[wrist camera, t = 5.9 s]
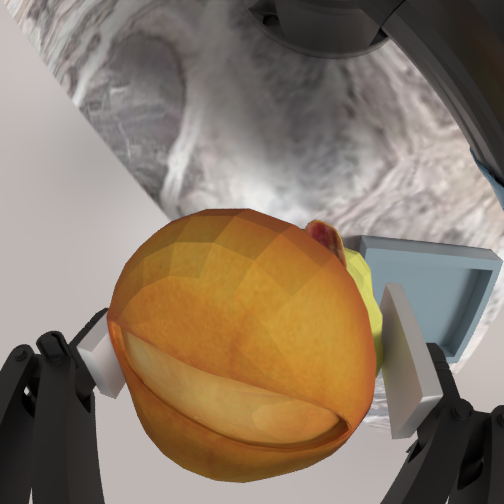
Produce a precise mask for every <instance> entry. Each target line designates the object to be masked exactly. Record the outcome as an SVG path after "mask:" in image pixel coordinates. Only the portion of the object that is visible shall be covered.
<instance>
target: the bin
mask: <svg viewBox="0 0 504 504" xmlns="http://www.w3.org/2000/svg"><path fill="white" fill-rule="evenodd" d="M359 253H360V254H361V256H362V257H363V259H364V260H365V262H366V263H367V265H368V266H369V268H370V271H371V280H372V289H373V294H374V299H375V301H376V303H377V305H378V307H379V306H380V303H381V299H382V296H383V292H384V288H385V285H386V283H400V284H401V286H402V288H403V290H404V292H405V294H406V297H407V299H408V301H409V304H410V306H411V308H412V310H413V313H414V315H415V318H416V320H417V322H418V325H419V327H420V330H421V332H422V335H423V337H424V340H425V343H436V344H437V345H438V346H439V347H440V348H441V349H442V350H443V352H444V355H445V357H446V360H447V361H446V362H448V363H457V362H458V361H459V359H460V357H461V355H462V354H463V352H464V350H465V348H466V346H467V344H468V343H469V341H470V339H471V337H472V335H473V333H474V331H475V329H476V327H477V325H478V323H479V321H480V318H481V316H482V314H483V312H484V310H485V307H486V305H487V303H488V300H489V298H490V296H491V293H492V291H493V288H494V286H495V283H496V280H497V278H498V275H499V272H500V269H501V266H502V263H503V261H502V260H501V259H500V258H499V257H498V256H497V255H496V254H495V253H494V252H493V251H492V250H491V249H483V248H475V247H467V246H458V245H450V244H441V243H432V242H423V241H414V240H404V239H395V238H385V237H374V236H364V235H361V241H360V247H359Z"/></svg>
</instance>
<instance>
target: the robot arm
mask: <svg viewBox="0 0 504 504" xmlns="http://www.w3.org/2000/svg"><path fill="white" fill-rule="evenodd" d="M242 2H243V5H244V7H245V8H246V10H247V12H248V14H249V15H250V17H251V19H252V20H253V22H254V23H255V24H256V25H257V26H258V27H259V29H260V30H262V31H263V32H264V33H265V34H266V35H267V36H268V37H270V38H271V39H273V40H274V41H276V42H277V43H279V44H281V45H283V46H285V47H287V48H289V49H291V50H294V51H296V52H299V53H302V54H306V55H310V56H315V57H321V58H332V59H340V58H351V57H357V56H361V55H364V54H367V53H370V52H372V51H374V50H376V49H378V48H380V47H381V46H383V45H384V44H385V43H386V42H388V41H389V40H390V39H392V40H393V41H394V43H395V44H396V45H397V46H398V47H399V48H400V49H401V50H402V51H403V52H404V53H405V55H406V56H407V57H408V58H409V59H410V60H411V62H412V63H413V64H414V65H415V66H416V67H417V69H418V70H419V71H420V72H421V74H422V75H423V76H424V77H425V79H426V80H427V81H428V83H429V84H430V85H431V86H432V88H433V89H434V91H435V92H436V93H437V95H438V96H439V97H440V99H441V100H442V102H443V103H444V105H445V106H446V107H447V109H448V110H449V112H450V113H451V115H452V117H453V118H454V120H455V121H456V123H457V124H458V126H459V128H460V129H461V131H462V133H463V134H464V136H465V138H466V139H467V141H468V143H469V145H470V152H471V154H472V157H473V159H474V161H475V162H476V164H477V166H478V168H479V170H480V171H481V172H482V174H483V175H484V176H485V177H486V178H487V180H488V181H489V182H490V184H491V186H492V188H493V190H494V192H495V194H496V196H497V198H498V200H499V202H500V205H501V207H502V209H503V211H504V0H242ZM108 309H109V308H104V309H103V310H101V311H99V312H98V313H96V314H95V315H94V316H93V317H92V318H91V320H90V322H88V323H87V324H86V325H85V327H84V328H82V330H81V331H80V332H79V333H78V334H77V335H76V336H75V337H74V339H73V340H72V341H71V342H70V343H69V344H67V342H66V340H65V338H64V336H63V335H62V333H61V332H58V331H50V332H47V333H45V334H43V335H41V336H40V337H39V338H38V340H37V342H36V345H37V347H38V349H39V351H40V353H41V354H35V353H34V351H33V349H32V348H31V347H30V345H27V344H22V345H19V346H17V347H16V348H14V349H13V350H12V352H11V353H10V355H9V356H8V358H7V360H6V362H5V363H4V365H3V367H2V369H1V371H0V504H29V499H30V493H31V488H32V500H33V504H105V502H104V496H103V490H102V484H101V477H100V469H99V460H98V451H97V438H96V420H95V396H94V392H93V391H92V390H93V389H94V387H95V386H97V387H98V389H99V391H100V393H101V394H104V395H106V396H109V397H111V398H114V399H116V397H117V396H118V394H119V392H120V391H121V389H122V388H123V386H124V384H125V383H126V381H125V378H124V375H123V372H122V369H121V367H120V364H119V362H118V360H117V357H116V355H115V352H114V349H113V346H112V344H111V339H110V335H109V330H108V325H107V318H106V316H107V312H108ZM379 309H380V311H381V313H382V335H381V341H382V346H383V352H384V361H383V363H382V366H381V368H382V374H383V379H384V385H385V391H386V397H387V404H388V411H389V418H390V426H391V434H392V439H401V438H410V437H411V436H412V435H413V433H415V431H416V430H417V435H418V439H417V440H416V441H415V442H414V443H413V444H412V445H411V447H410V448H409V449H408V450H407V451H406V452H407V453H409V452H410V453H409V455H408V457H407V459H406V460H405V463H404V464H403V466H402V468H401V470H400V472H399V474H398V476H397V477H396V479H395V481H394V482H393V484H392V486H391V487H390V489H389V491H388V492H387V494H386V496H385V497H384V499H383V500H382V502H381V503H380V504H445V503H446V501H447V499H448V497H449V499H448V504H504V405H499V406H497V407H496V408H495V409H494V410H493V411H492V412H491V413H485V412H479V411H475V410H474V409H473V407H472V405H471V404H470V403H469V402H468V401H466V400H464V399H461V398H460V395H459V393H458V390H457V387H456V384H455V381H454V378H453V376H452V373H451V370H449V369H450V368H449V365H448V362H446V361H447V360H446V357H445V355H444V352H443V350H442V349H441V348H440V347H439V346H438V345H437V344H436V343H425V340H424V337H423V335H422V332H421V330H420V327H419V325H418V322H417V320H416V318H415V315H414V313H413V310H412V308H411V306H410V304H409V301H408V299H407V297H406V294H405V292H404V290H403V288H402V286H401V284H400V283H386V285H385V288H384V292H383V296H382V299H381V303H380V306H379ZM26 387H27V388H28V390H29V393H28V394H27V395H26V394H25V393H24V390H25V388H26Z"/></svg>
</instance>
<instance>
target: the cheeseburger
mask: <svg viewBox="0 0 504 504" xmlns="http://www.w3.org/2000/svg"><path fill="white" fill-rule="evenodd" d="M106 318H107V325H108V330H109V335H110V339H111V344H112V346H113V349H114V352H115V355H116V357H117V360H118V362H119V364H120V367H121V369H122V372H123V375H124V378H125V381H126V383H127V386H128V389H129V391H130V394H131V397H132V401H133V403H134V407H135V410H136V412H137V416H138V418H139V420H140V422H141V424H142V426H143V428H144V430H145V432H146V434H147V435H148V436H149V438H150V439H151V440H152V441H153V442H154V443H155V445H156V446H157V447H158V448H159V450H160V451H161V452H162V453H163V454H164V455H165V456H167V457H168V458H169V459H171V460H172V461H174V462H175V463H176V464H178V465H179V466H181V467H182V468H184V469H186V470H189V471H191V472H194V473H196V474H199V475H201V476H204V477H207V478H210V479H213V480H216V481H226V482H239V483H246V482H251V481H256V480H262V479H266V478H271V477H275V476H279V475H283V474H287V473H291V472H294V471H298V470H301V469H304V468H308V467H309V466H311V465H314V464H315V463H317V462H319V461H321V460H323V459H325V458H327V457H329V456H330V455H332V454H333V453H334V452H336V451H337V450H338V449H339V448H340V447H341V446H342V445H343V444H345V443H346V441H347V440H348V439H349V438H350V436H351V435H352V434H353V433H354V431H355V430H356V429H357V427H358V426H359V424H360V423H361V422H362V420H363V419H364V418H365V416H366V415H367V413H368V411H369V409H370V407H371V404H372V401H373V395H374V388H375V379H376V378H377V376H378V373H379V371H380V368H381V366H382V363H383V361H384V352H383V346H382V341H381V335H382V313H381V311H380V309H379V307H378V305H377V303H376V301H375V299H374V294H373V289H372V280H371V271H370V268H369V266H368V265H367V263H366V262H365V260H364V259H363V257H362V256H361V254H360V253H359V252H356V251H353V250H351V249H348V248H345V247H344V246H343V242H342V238H341V236H340V234H339V233H338V231H337V230H336V229H335V228H334V227H333V226H331V225H330V224H328V223H326V222H324V221H320V220H316V219H315V220H313V221H311V222H310V223H308V225H307V226H306V228H305V229H300V228H299V227H297V226H296V225H293V224H291V223H288V222H285V221H282V220H280V219H277V218H274V217H272V216H269V215H266V214H263V213H261V212H258V211H255V210H252V209H205V210H203V211H200V212H197V213H194V214H191V215H188V216H185V217H182V218H179V219H177V220H174V221H171V222H170V223H168V224H167V225H166V226H164V227H163V228H161V229H160V230H158V231H157V232H156V233H155V234H154V235H153V236H151V237H150V238H149V239H148V240H147V241H146V242H145V243H143V244H142V245H141V246H140V247H139V248H138V250H137V251H136V252H135V253H134V254H133V255H132V257H131V258H130V259H129V260H128V262H127V263H126V264H125V266H124V269H123V270H122V273H121V275H120V277H119V279H118V281H117V283H116V285H115V289H114V292H113V296H112V300H111V304H110V307H109V309H108V312H107V316H106Z"/></svg>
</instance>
